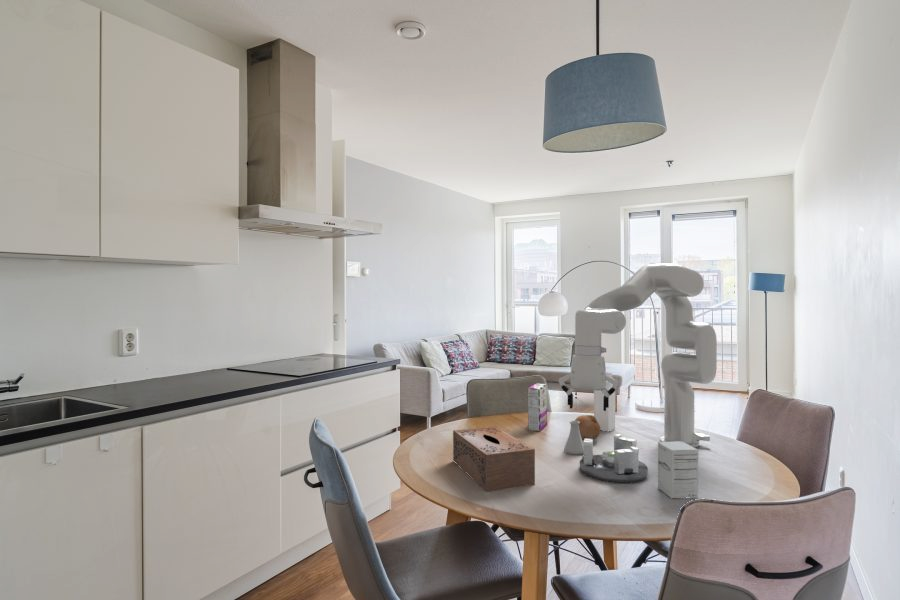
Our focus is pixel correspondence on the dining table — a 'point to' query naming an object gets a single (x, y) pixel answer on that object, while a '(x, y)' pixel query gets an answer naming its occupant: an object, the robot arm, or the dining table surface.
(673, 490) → the supplement box
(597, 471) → the levelling plate
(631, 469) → the knob
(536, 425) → the candy bar box
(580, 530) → the dining table surface
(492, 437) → the tissue box cover
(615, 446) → the knob
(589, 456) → the knob front
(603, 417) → the milk
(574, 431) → the flask
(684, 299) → the robot arm
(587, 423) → the onion
